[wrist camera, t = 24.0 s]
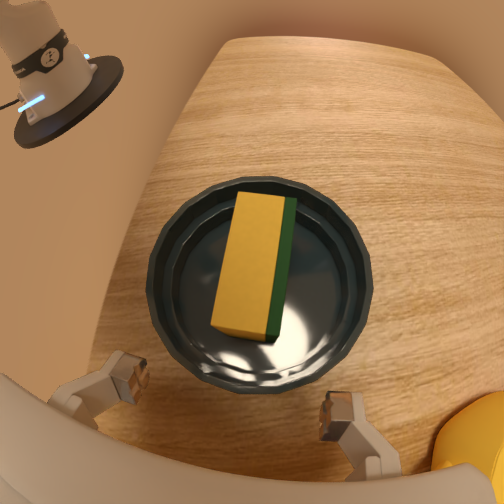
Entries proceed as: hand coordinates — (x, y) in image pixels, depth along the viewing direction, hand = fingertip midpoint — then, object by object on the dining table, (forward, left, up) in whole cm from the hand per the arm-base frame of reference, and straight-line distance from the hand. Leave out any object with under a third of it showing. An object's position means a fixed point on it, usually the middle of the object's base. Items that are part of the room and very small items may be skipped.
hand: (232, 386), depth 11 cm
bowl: (-4, +6, -12) cm, 14 cm away
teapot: (+27, +3, -12) cm, 30 cm away
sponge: (-4, +6, -12) cm, 14 cm away
